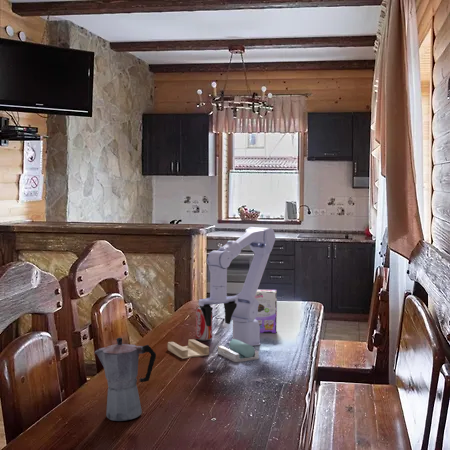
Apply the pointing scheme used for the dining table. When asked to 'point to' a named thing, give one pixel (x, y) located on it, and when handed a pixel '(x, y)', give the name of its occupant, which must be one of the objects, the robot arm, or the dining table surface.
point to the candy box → (267, 310)
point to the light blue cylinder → (242, 348)
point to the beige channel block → (189, 349)
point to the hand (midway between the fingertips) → (218, 324)
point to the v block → (235, 355)
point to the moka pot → (123, 378)
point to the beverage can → (203, 326)
